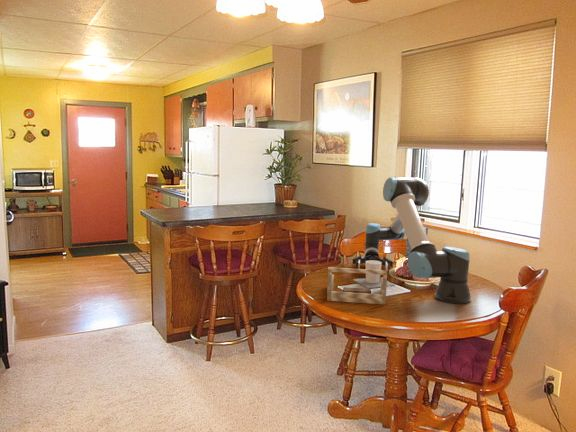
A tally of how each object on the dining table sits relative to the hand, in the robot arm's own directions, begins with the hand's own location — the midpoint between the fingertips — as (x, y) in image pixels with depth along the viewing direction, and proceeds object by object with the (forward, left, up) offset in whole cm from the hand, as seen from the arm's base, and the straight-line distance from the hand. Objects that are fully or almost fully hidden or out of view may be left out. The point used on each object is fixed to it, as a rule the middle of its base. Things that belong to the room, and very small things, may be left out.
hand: (372, 267), depth 235 cm
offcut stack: (-19, +20, -9) cm, 29 cm away
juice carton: (+13, -35, -9) cm, 38 cm away
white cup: (+1, -1, -8) cm, 8 cm away
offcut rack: (-14, +17, -8) cm, 23 cm away
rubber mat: (0, -1, -8) cm, 8 cm away
